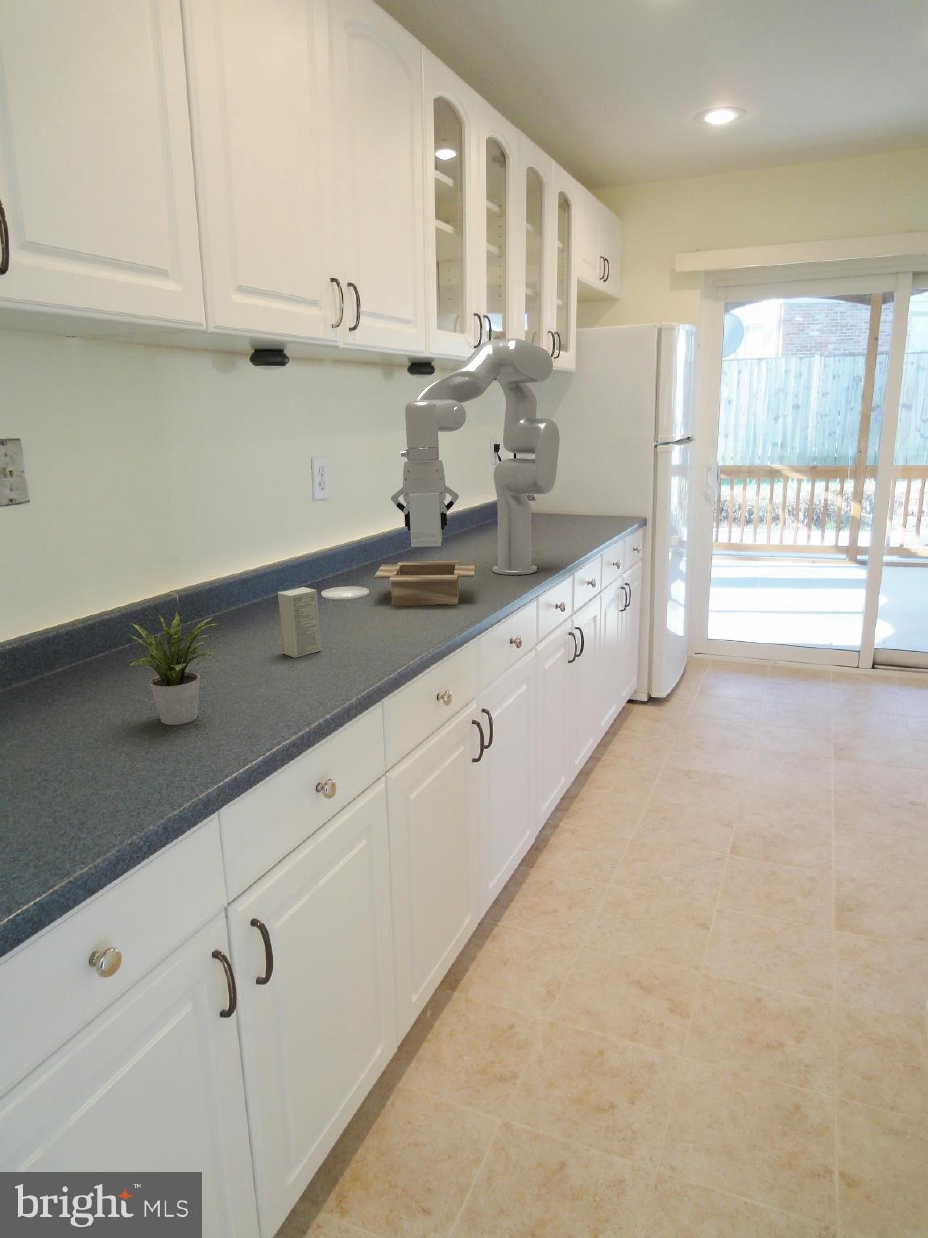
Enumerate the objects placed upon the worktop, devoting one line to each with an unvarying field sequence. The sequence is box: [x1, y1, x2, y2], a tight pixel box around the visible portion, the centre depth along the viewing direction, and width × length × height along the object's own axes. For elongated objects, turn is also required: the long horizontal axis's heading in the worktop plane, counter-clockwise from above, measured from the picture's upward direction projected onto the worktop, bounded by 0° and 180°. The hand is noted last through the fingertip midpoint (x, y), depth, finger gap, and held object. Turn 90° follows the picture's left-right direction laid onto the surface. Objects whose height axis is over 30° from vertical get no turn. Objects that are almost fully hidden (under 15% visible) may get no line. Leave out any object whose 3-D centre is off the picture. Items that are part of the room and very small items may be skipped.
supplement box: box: [409, 493, 443, 548], centre depth 196 cm, size 7×7×13 cm
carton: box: [373, 560, 476, 606], centre depth 199 cm, size 24×24×7 cm
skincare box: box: [277, 586, 322, 659], centre depth 153 cm, size 6×4×12 cm
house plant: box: [129, 611, 219, 726], centre depth 119 cm, size 14×14×16 cm
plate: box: [320, 585, 370, 601], centre depth 205 cm, size 12×12×1 cm
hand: (426, 528), depth 196 cm, fingers closed on supplement box, 7 cm apart
